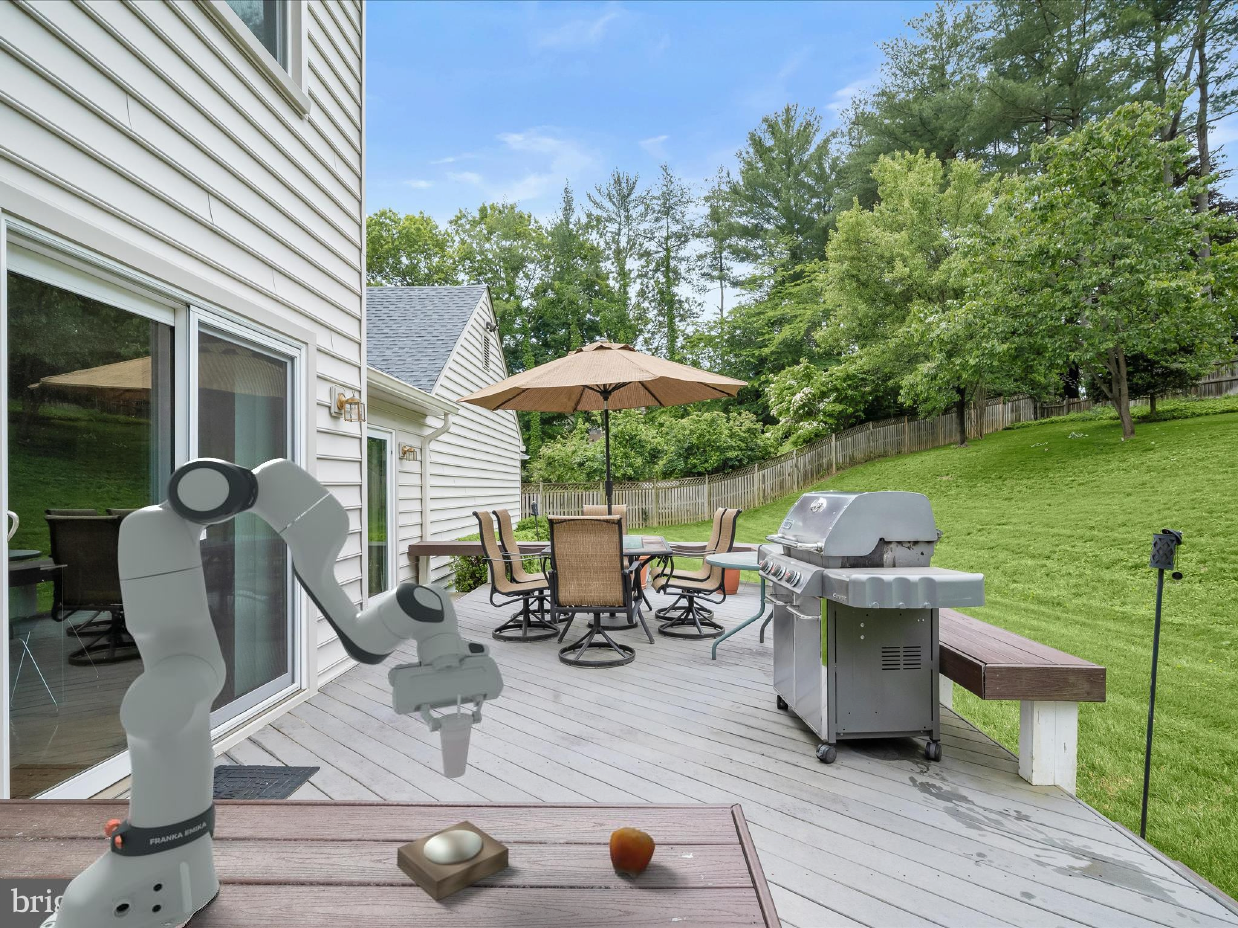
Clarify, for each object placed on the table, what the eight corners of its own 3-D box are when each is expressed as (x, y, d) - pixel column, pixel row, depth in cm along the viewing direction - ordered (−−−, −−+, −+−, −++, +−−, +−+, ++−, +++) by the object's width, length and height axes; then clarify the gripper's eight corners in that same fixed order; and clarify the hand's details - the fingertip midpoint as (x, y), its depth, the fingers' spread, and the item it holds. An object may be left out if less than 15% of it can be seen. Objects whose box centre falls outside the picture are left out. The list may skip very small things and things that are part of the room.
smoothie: (463, 782, 107) (464, 700, 108) (429, 779, 108) (431, 698, 109) (478, 767, 113) (480, 689, 114) (446, 764, 114) (448, 687, 115)
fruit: (597, 873, 105) (606, 820, 109) (611, 876, 111) (619, 826, 115) (642, 884, 102) (650, 829, 106) (654, 886, 108) (661, 834, 112)
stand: (436, 900, 99) (436, 877, 100) (397, 865, 109) (397, 844, 110) (508, 865, 109) (508, 844, 110) (466, 836, 119) (466, 816, 119)
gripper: (389, 656, 112) (400, 727, 103) (496, 643, 123) (514, 707, 114) (383, 675, 116) (393, 746, 107) (487, 661, 127) (504, 724, 118)
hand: (456, 725), depth 111 cm, fingers closed on smoothie, 6 cm apart
